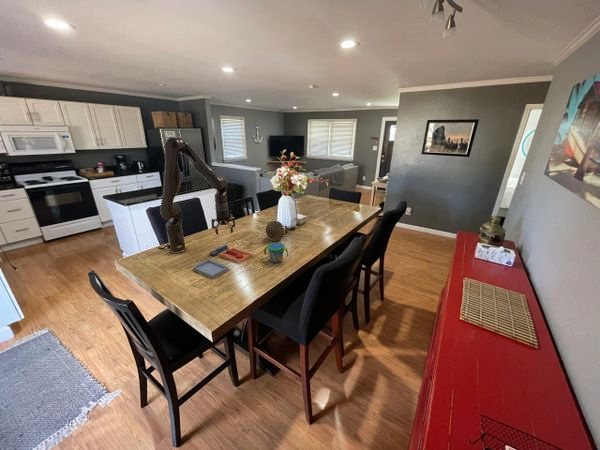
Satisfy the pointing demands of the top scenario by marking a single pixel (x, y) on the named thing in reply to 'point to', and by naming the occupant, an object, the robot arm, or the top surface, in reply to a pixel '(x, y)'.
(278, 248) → the snack cup
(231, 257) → the red tray
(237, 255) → the red spoon
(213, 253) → the blue spoon
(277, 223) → the brown ball
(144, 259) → the top surface
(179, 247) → the robot arm
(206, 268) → the blue tray
